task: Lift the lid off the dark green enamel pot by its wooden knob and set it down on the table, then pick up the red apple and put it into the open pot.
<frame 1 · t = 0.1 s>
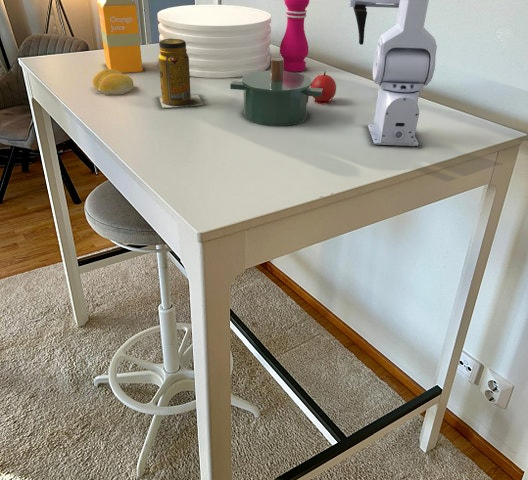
hand: (378, 44, 119), 10 cm above the table, tool pointing down, fingers open, 7 cm apart
lid: (276, 82, 106), point 6 cm above the table, touching pot
condiment: (181, 103, 115), on the table
apple: (322, 101, 118), on the table
plate stack: (215, 63, 142), on the table
orange juice: (124, 68, 136), on the table
bread roll: (113, 90, 121), on the table
pot: (275, 115, 110), on the table
pepper mill: (292, 69, 139), on the table
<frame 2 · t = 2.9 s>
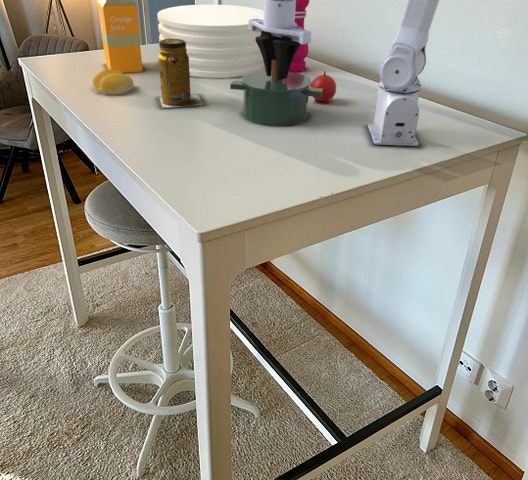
hand: (276, 77, 106), 7 cm above the table, tool pointing down, fingers closed on lid, 2 cm apart
lid: (276, 82, 106), point 6 cm above the table, touching gripper, pot
everything else where it was.
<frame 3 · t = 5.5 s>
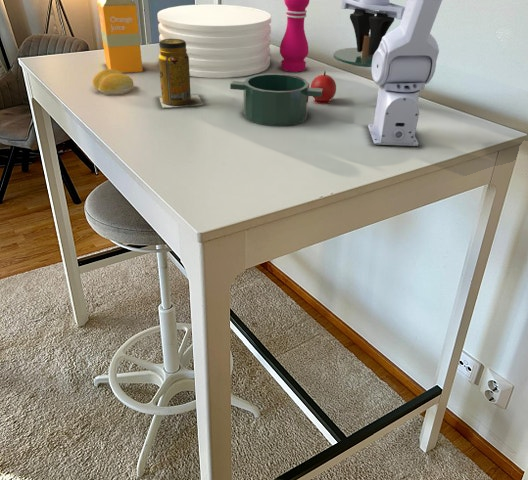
hand: (367, 52, 111), 10 cm above the table, tool pointing down, fingers closed on lid, 2 cm apart
lid: (366, 57, 112), point 9 cm above the table, touching gripper
everything else where it was.
when the fingers open (2 cm above the table, at t = 8.2 s): lid stays where it is, point 1 cm above the table.
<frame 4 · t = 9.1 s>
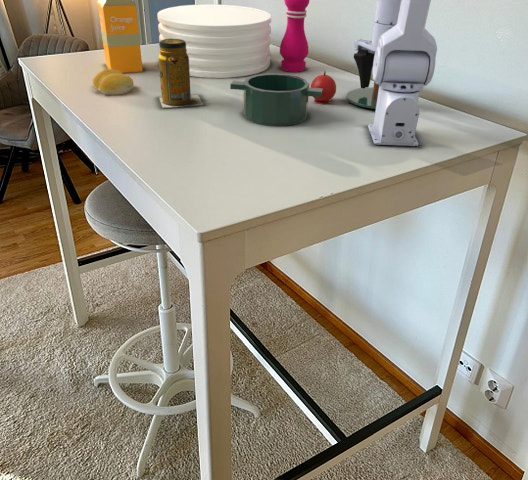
hand: (378, 91, 118), 2 cm above the table, tool pointing down, fingers open, 7 cm apart
lid: (377, 99, 119), point 1 cm above the table
everything else where it was.
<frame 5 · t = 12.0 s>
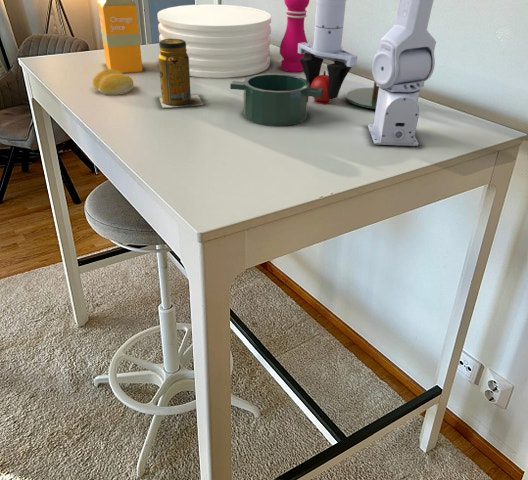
hand: (322, 94, 117), 1 cm above the table, tool pointing down, fingers closed on apple, 5 cm apart
apple: (322, 101, 118), on the table, touching gripper
everything else where it was.
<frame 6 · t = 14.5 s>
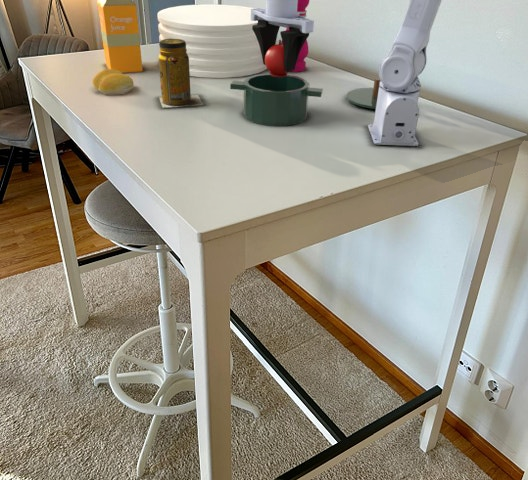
hand: (279, 67, 105), 9 cm above the table, tool pointing down, fingers closed on apple, 5 cm apart
apple: (278, 74, 106), point 8 cm above the table, touching gripper
everything else where it was.
when the fingers open (2 cm above the table, at t = 17.1 s): apple stays where it is, resting on pot.
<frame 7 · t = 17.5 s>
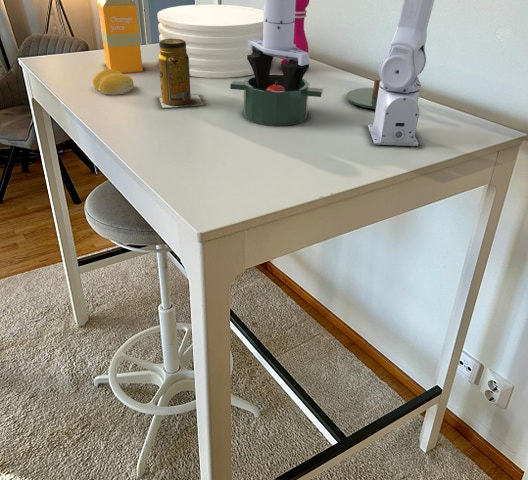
hand: (276, 96, 108), 4 cm above the table, tool pointing down, fingers open, 7 cm apart
apple: (275, 113, 110), resting on pot
everything else where it was.
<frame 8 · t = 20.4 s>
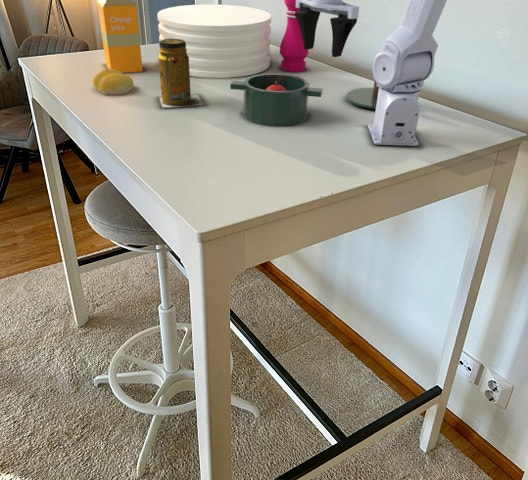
hand: (322, 52, 110), 10 cm above the table, tool pointing down, fingers open, 7 cm apart
nothing on the table moved.
at the end: lid inside the target area (0.1 cm from its centre), point 0.6 cm above the table; apple inside the target area in the pot (0.0 cm from its centre), point 0.4 cm above the pot's base; the gripper is holding nothing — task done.
